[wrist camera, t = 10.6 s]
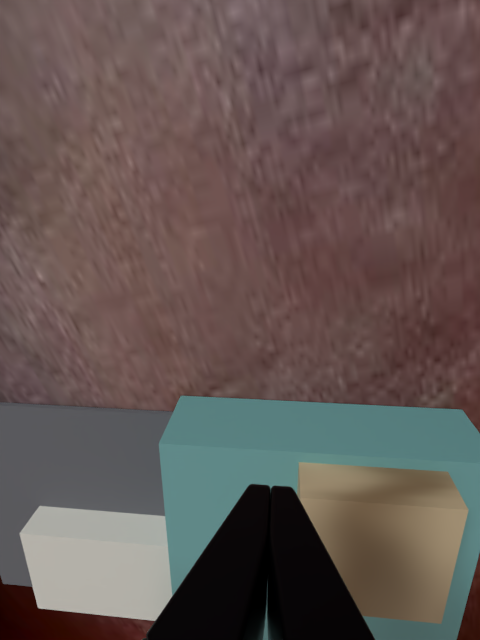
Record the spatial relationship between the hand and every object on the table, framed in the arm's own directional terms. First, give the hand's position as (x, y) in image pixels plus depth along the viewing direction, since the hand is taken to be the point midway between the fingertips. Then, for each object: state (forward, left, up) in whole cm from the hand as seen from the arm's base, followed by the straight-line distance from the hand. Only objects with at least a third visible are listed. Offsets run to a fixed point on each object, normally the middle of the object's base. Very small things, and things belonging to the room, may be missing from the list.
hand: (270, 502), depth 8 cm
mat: (+11, +13, -12) cm, 21 cm away
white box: (+10, +16, -12) cm, 22 cm away
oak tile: (-4, +8, -8) cm, 12 cm away
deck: (-2, +13, -12) cm, 18 cm away
